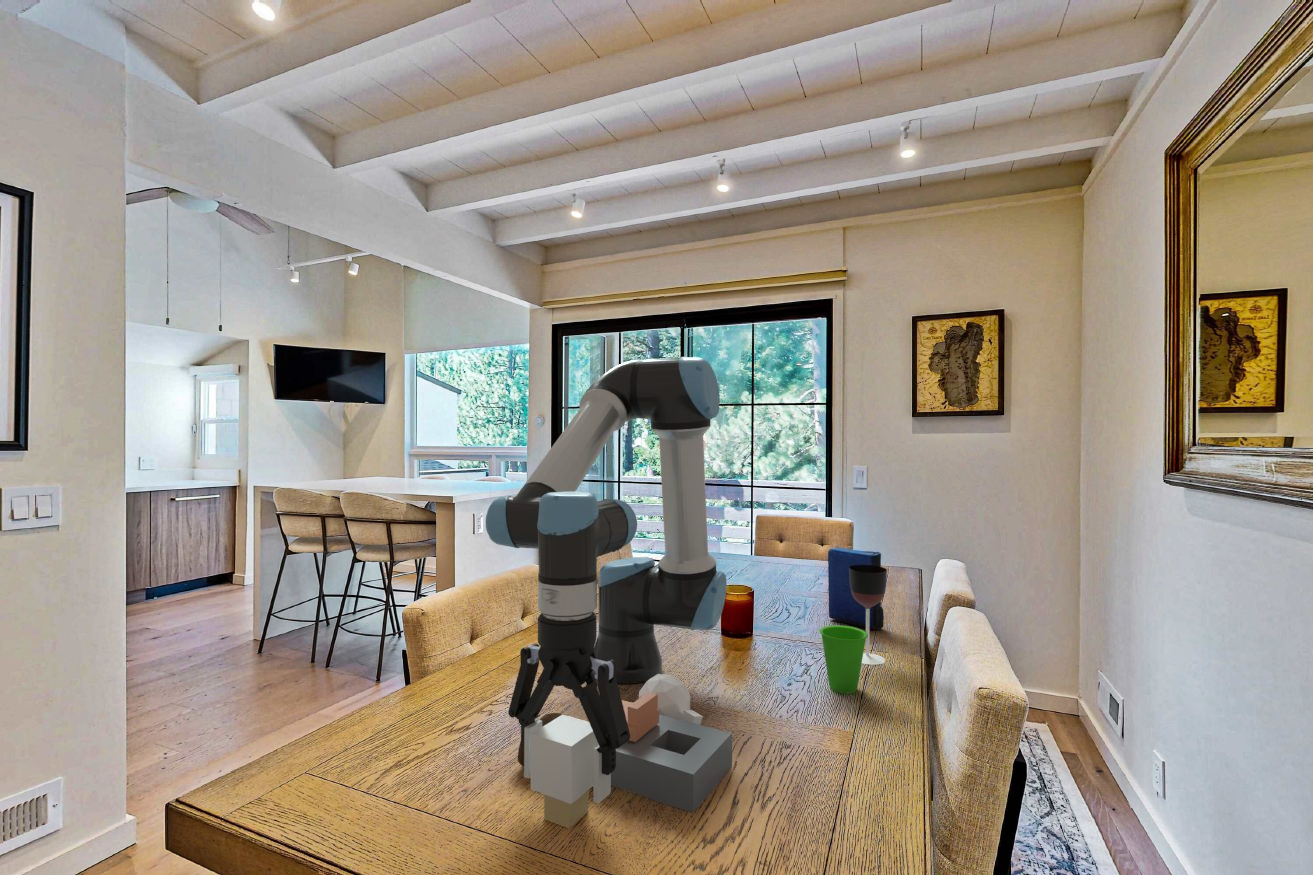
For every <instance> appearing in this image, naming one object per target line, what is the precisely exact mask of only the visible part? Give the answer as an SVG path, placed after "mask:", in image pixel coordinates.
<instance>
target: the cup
mask: <svg viewBox="0 0 1313 875" xmlns="http://www.w3.org/2000/svg"><path fill="white" fill-rule="evenodd" d="M819 633H820V634H821V640H822V641H821V642H822V646H823V653H824V658H825V659H824V661H825V667H826V672H827V678H828V679H827V680H828V685H829V687H830V689H831V690H832V691H834V692H836V693H840V694H847V695H848V694H854V693H856V691H857V690H858V688H859V682H860V681H859V680H860V675H861V668H862V664H863V663H862V658H863V653H865V651H864V650H865V647H866V638H867V637H868V634H867V633H866V630H863V629H860V628H858V627H854V626H849V625H841V624H840V625H837V624H836V625H827V626H822V627H821V628H820V629H819Z"/></svg>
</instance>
